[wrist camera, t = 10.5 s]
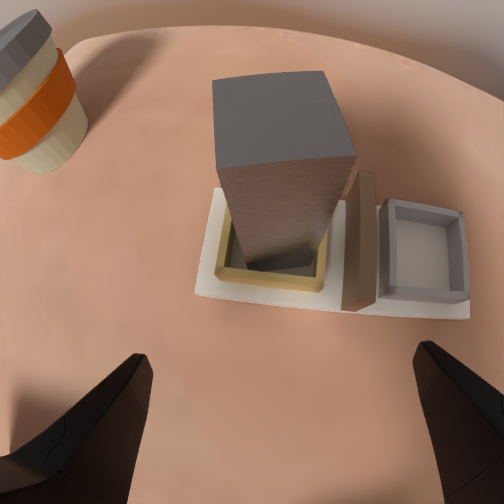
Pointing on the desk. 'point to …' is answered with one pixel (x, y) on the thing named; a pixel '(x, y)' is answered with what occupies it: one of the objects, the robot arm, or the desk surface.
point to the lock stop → (280, 163)
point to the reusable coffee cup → (37, 98)
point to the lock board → (353, 261)
